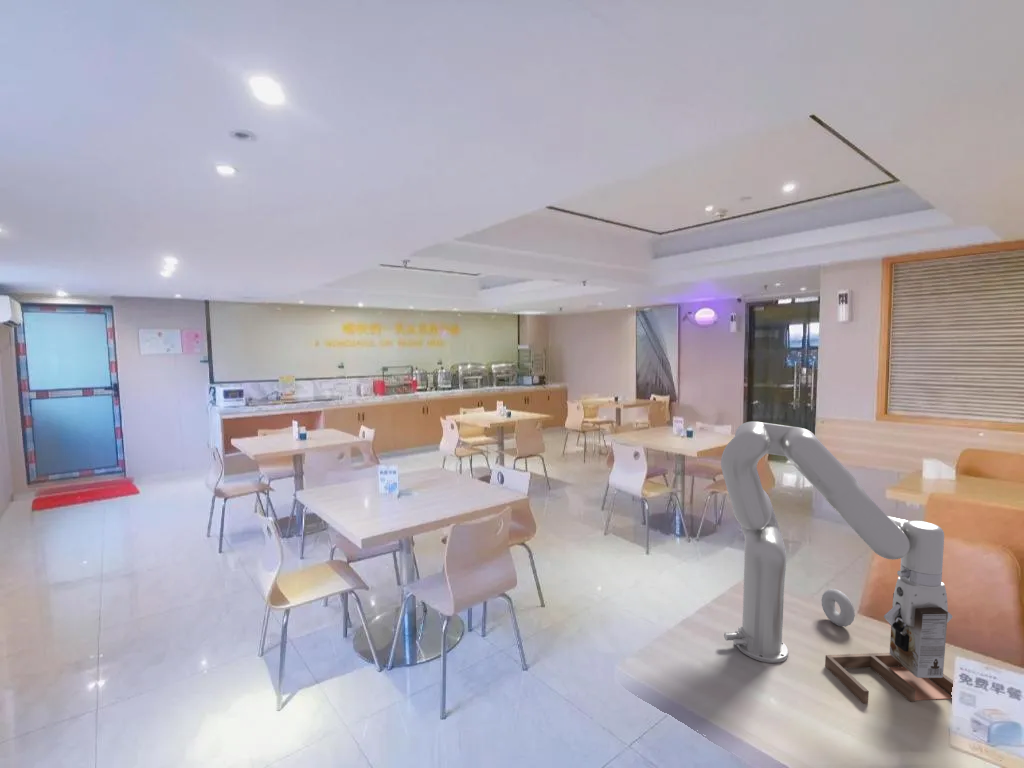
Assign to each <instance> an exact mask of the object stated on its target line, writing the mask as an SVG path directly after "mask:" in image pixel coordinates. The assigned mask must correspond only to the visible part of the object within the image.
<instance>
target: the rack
mask: <svg viewBox="0 0 1024 768" xmlns="http://www.w3.org/2000/svg"><path fill="white" fill-rule="evenodd" d="M824 666H825V668H826V669H827V670H828V671H829V672H830V673H831V674H832V675H833V676H835V678H836V679H838V680H839V681H840V683H842V684H843V685H844V687H846V689H848V690H849V691H850V693H852V694H853V695H854V696H855V697H856V698H857V699H858V700H859V701H860V702H861V703H863V704H864V705H865V704H866V705H867V704H869V694H870V693H869V690H868V689H867V688H866V687H865V686H864V685H862V683H861V682H859V680H857V679H856V678H855V677H854V676H853V675H852V674H851V673H850V672H849V671H847V670H846V669H859V668H860V669H861V668H863V669H864V668H865V669H866V668H869V669H871V670H873V671H874V672H875V673H876V674H877V675H879V677H881V678H882V679H883V680H884V681H885V682H887V684H889V685H890V686H892V687H893V688H894V690H896V691H897V692H898V693H900V694H901V695H902V696H903V697H904V698H905V699H906V700H908V701H909V702H910V703H915V702H916V701H928V700H929V701H931V700H932V701H933V700H934V701H935V700H936V699H937V700H952V699H951V692H952V687H953V681H954V680H953V679H951V678H950V677H948V676H947V675H946V674H944V673H943V678H917V677H916V676H914V675H913V674H912V673H911V672H910V671H909V670H908V669H906V668H905V667H904V666H903V665H902V664H901V663H900V662H898V661H897V660H896V659H895V658H894V657H893V656H892V655H890V652H874V653H873V652H872V653H871V652H870V653H846V654H845V653H844V654H826V655H825V659H824Z"/></svg>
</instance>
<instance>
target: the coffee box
mask: <svg viewBox="0 0 1024 768" xmlns="http://www.w3.org/2000/svg"><path fill="white" fill-rule="evenodd" d="M892 595H893V596H892V598H893V597H894V592H893V594H892ZM892 608H893V605H892ZM892 608H891V609H892ZM948 612H949V611H948ZM948 612H947V611H945V610H944V609H942V608H941V607H938V608H935V607H929V608H916V609H915V625H914V627H911V626H909V630H908V632H907V635H908V636H909V648H908V651H907V652H905V651H903V650H902V649H901V648H899V647H898V646H897V645H896V644H895V631H896V630H895V629H894V628H893V627H892V626H891V625H890V641H889V642H890V643H889V653H890V655H892V656H893V657H894V658H895V659H896V660H897V661H898V662H900V663H901V664H902V665H903V666H904V667H905V668H906V669H908V670H909V671H910V672H911V673H912V674H913V675H914V676H916V677H917V678H928V679H929V678H943V674H944V666H945V655H946V654H945V653H946V642H947V641H946V640H947V630H948V629H947V627H948V623H947V618H948ZM896 619H897V617H896V618H895V621H896ZM903 625H904V623H903V622H902V624H901V627H903Z"/></svg>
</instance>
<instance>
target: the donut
mask: <svg viewBox="0 0 1024 768" xmlns="http://www.w3.org/2000/svg"><path fill="white" fill-rule="evenodd" d="M821 596H822V597H821V606H822V611H823V613H824V615H825V616H826V618H828V620H829V621H830V622H831V623H833V624H835V625H837V626H838V627H848V626H850V625H851V624H852V623H853V622H854V620H855V616H856V615H855V614H856V613H855V608H854V605H853V603H852V601H851V599H850V598H849V597H848V595H847V594H845V592H843V591H841V590H839V589H837V588H828V589H827V590H825V591H824V592H823V594H822V595H821ZM835 603H837V604H838V607H839V609H840V612H839V611H838V610H837V607H836V604H835Z"/></svg>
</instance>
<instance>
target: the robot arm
mask: <svg viewBox="0 0 1024 768" xmlns="http://www.w3.org/2000/svg"><path fill="white" fill-rule="evenodd" d="M765 455H775V456H782V457H785V458H786V459H787V460H788V461H789V462H790V463H791V464H792V465H793V467H794V468H795V469H796V470H798V472H799V473H800V474H801V475H802V476H803V477H804V478H805V479H806V480H807V481H808V482H809V483H810V484H811V486H812V487H813V488H815V490H816V491H817V492H818V493H819V494H820V495H821V496H822V498H823V499H825V501H826V502H827V503H828V504H829V506H831V507H832V508H833V509H834V510H835V511H836V512H837V514H838V515H840V516H841V518H842V519H843V520H844V521H845V522H846V523H847V524H848V525H849V526H850V527H851V529H853V531H854V532H855V533H856V534H857V535H858V536H859V538H861V540H863V542H865V544H866V545H867V546H868V547H869V548H870V550H872V551H873V552H874V553H875V554H876V555H878V556H879V557H881V558H883V559H886V560H887V559H888V560H891V561H893V560H894V561H895V560H899V559H900V570H897V572H896V573H897V574H896V575H897V576H898V577H897V580H896V583H895V587H894V592H893V593H894V597H893V596H892V606H893V608H891V609H890V610H888V612H886V613H885V614H884V615H883V619H885V621H887V623H889V625H890V627H891V626H892V627H893V628H894V629H895V630H896V631H895V644H896V645H897V646H898V647H899V648H901V649H902V650H903V651H905V652H907V651H908V648H909V636H908V635H907V632H908V630H909V626H911V627H914V625H915V609H916V608H929V607H935V608H938V607H941V608H942V609H944V610H945V611H947V612H948V618H947V624H948V623H949V622H950V621H951V620H952V619H953V615H952V614H951V613H950V612H949V611H948V609H949V607H948V606H949V605H948V596H947V589H946V586H945V583H944V582H942V580H943V567H944V566H943V565H944V564H943V563H944V562H943V561H944V545H945V532H944V530H943V528H942V527H941V526H939V525H938V524H935V523H931V522H929V521H928V522H927V521H923V520H906V519H902V518H898V517H893V516H890V515H887V514H886V513H885V512H884V510H882V509H881V507H879V506H878V504H877V503H876V502H875V501H874V500H873V499H872V498H871V496H870V495H869V494H868V493H867V491H866V490H865V488H864V487H863V486H862V484H861V483H860V481H858V480H857V478H856V477H855V476H854V475H853V474H852V473H851V472H850V471H849V470H848V469H847V467H845V466H844V465H843V464H842V463H841V462H840V461H839V459H838V458H836V456H834V454H833V453H832V452H831V451H830V450H829V449H828V448H827V447H826V446H825V445H824V444H823V443H822V442H821V441H820V440H819V439H818V438H817V436H816V435H815V433H813V432H812V431H810V430H809V429H806V428H804V427H803V428H802V427H798V426H791V425H783V424H776V423H771V422H770V423H769V422H762V421H752V420H751V421H747V422H744V423H742V424H741V425H739V426H738V428H737V429H736V430H735V433H734V437H733V438H732V439H731V440H730V441H729V442H728V443H727V444H726V446H725V447H724V449H723V452H722V454H721V458H720V466H721V467H720V468H721V472H722V476H723V479H724V483H725V486H726V490H727V493H728V496H729V500H730V503H731V507H732V512H733V515H734V517H735V519H736V520H737V522H738V523H739V525H740V528H741V530H742V534H743V537H744V555H743V556H744V561H743V562H744V563H743V565H744V567H743V597H742V600H743V601H742V602H743V603H742V624H741V626H738V627H737V628H738V629H737V630H735V632H729V631H728V632H724V633H723V637H724V640H725V641H733V642H732V643H733V645H735V646H736V647H737V649H738V650H739V651H740V652H742V654H744V655H745V656H747V657H749V658H751V659H753V660H756V661H759V662H764V663H771V664H775V663H781V662H784V661H786V660H787V659H788V657H789V648H788V646H787V645H786V644H785V642H783V627H784V626H783V622H784V621H783V620H784V603H785V602H784V600H785V599H784V598H785V597H784V596H785V580H786V571H787V552H786V545H785V543H784V538H783V534H782V531H781V529H780V526H779V522H778V519H777V516H776V513H775V509H774V507H773V504H772V500H771V499H770V496H769V494H768V493H767V492H766V491H765V490H764V487H763V485H762V481H761V478H760V476H759V471H758V468H757V467H758V463H759V461H760V460H762V458H763V457H765ZM896 617H897V619H896V621H895V618H896ZM902 622H903V623H904V625H903V627H901V624H902Z"/></svg>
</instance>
